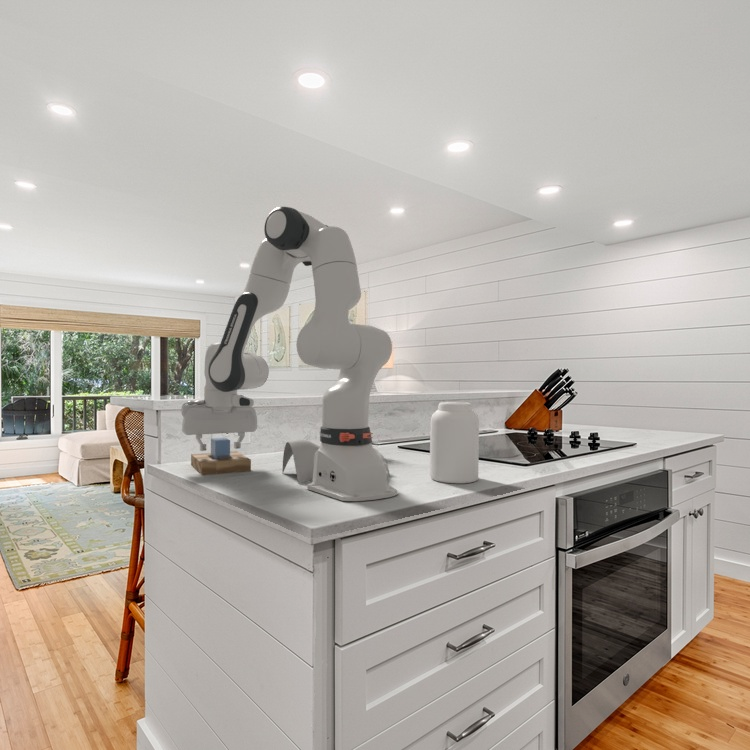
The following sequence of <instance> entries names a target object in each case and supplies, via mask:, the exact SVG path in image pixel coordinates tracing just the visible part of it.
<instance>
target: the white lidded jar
mask: <svg viewBox="0 0 750 750" xmlns="http://www.w3.org/2000/svg"><path fill="white" fill-rule="evenodd" d="M429 423H430V424H429V425H430V431H429V432H430V433H429V435H430V436H429V478H430V479H432V480H434V481H436V482H440V483H445V484H462V485H463V484H470V483H474V482H476V481H478V479H479V463H480V462H479V459H480V456H479V455H480V453H479V452H480V451H479V450H480V449H479V446H480V445H479V444H480V437H479V436H480V420H479V416H478V415H477V414H476V412H475V411H474V410H473V407H472V404H471V403H470V402H466V401H440V402H438V405H437V410H436V411H434V412H433V413H432V415H431V418H430V422H429Z"/></svg>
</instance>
